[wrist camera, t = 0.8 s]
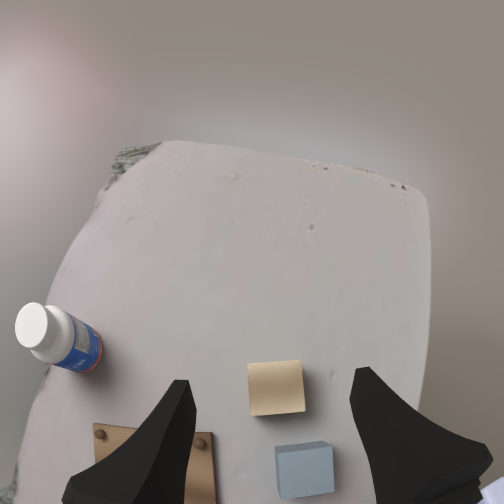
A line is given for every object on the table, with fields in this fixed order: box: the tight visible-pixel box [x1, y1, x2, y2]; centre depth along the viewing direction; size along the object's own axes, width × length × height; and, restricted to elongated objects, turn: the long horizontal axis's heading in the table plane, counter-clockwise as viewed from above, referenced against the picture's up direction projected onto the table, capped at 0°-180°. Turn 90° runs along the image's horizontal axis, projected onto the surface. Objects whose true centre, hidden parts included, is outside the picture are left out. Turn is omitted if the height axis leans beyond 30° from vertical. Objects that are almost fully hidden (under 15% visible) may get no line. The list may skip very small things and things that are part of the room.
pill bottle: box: [15, 303, 102, 372], centre depth 24 cm, size 6×5×10 cm
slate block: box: [275, 441, 334, 499], centre depth 21 cm, size 4×4×4 cm
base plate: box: [93, 423, 217, 504], centre depth 21 cm, size 12×12×2 cm
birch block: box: [247, 360, 305, 416], centre depth 25 cm, size 4×4×4 cm
